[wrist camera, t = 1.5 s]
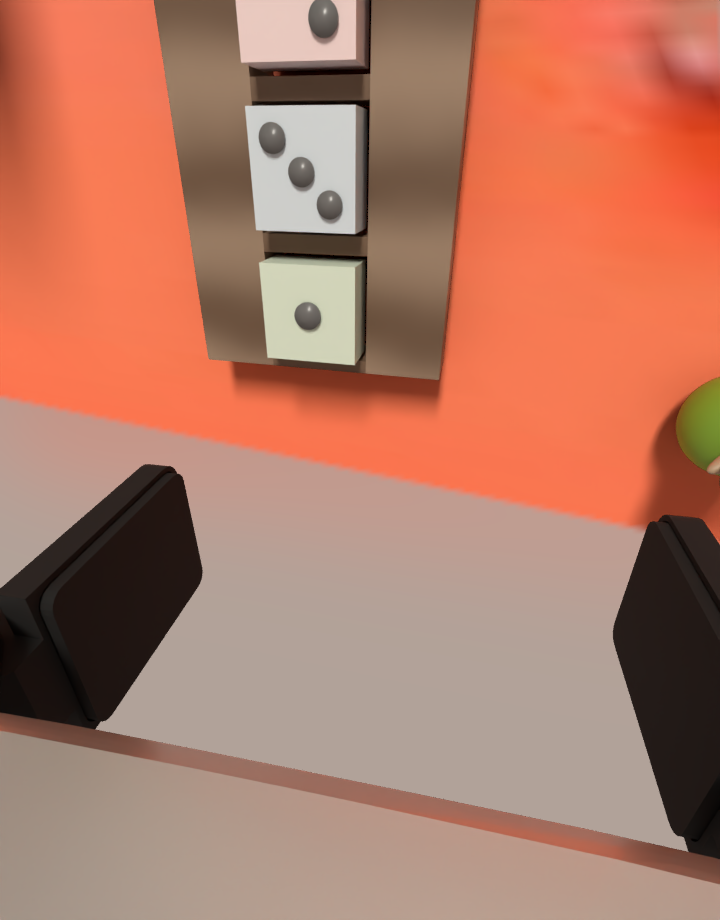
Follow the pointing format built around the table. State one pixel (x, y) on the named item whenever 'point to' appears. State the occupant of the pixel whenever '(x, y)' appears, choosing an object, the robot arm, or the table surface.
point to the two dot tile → (303, 34)
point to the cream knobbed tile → (314, 308)
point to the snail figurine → (701, 427)
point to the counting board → (390, 174)
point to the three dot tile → (308, 167)
